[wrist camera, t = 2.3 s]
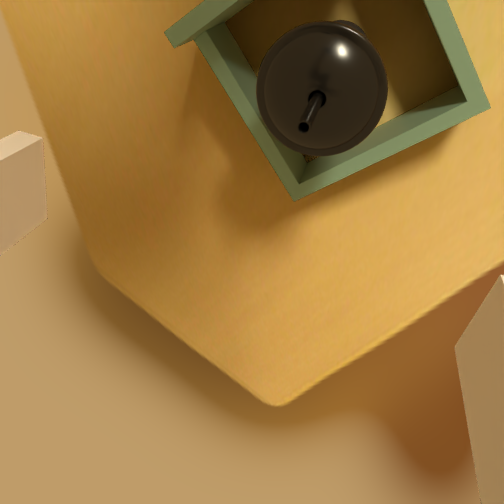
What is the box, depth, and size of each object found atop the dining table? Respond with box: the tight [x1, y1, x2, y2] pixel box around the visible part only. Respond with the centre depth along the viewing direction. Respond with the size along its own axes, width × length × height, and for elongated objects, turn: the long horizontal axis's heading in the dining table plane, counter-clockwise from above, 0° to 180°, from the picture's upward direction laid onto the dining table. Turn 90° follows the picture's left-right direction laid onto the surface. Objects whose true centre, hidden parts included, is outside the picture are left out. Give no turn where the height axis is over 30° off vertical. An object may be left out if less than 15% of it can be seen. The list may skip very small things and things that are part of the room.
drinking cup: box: [256, 20, 388, 156], centre depth 31 cm, size 8×8×20 cm
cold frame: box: [164, 0, 491, 201], centre depth 35 cm, size 16×16×9 cm
